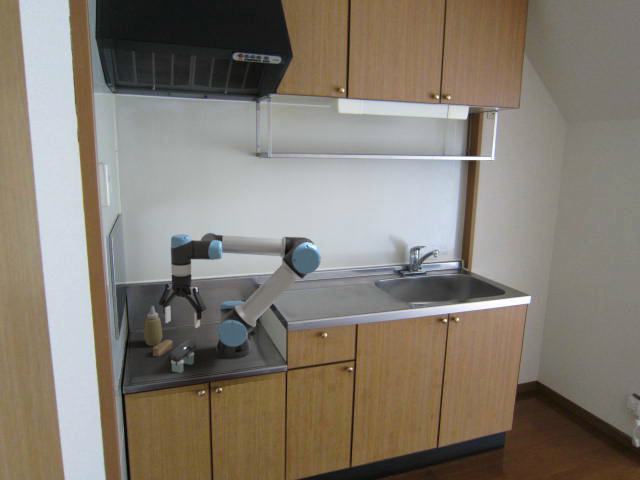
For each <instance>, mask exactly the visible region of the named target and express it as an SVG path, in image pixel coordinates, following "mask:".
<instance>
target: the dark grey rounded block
mask: <svg viewBox="0 0 640 480" xmlns="http://www.w3.org/2000/svg"><path fill="white" fill-rule="evenodd" d="M196 348H197V343H196V341H194V340H193V339H187V340H186V341H184V342H182V343H181V344H180V345H179V346H177V347H175V348H174V349H173V350H172V349H171V351H170V353H169V356H170V359H171V361H172V360H173V361H175V362H178V361H180V360H181V359H183V358H184V357H185V356H187V355H188V354H189V353H191V352H195V350H196Z"/></svg>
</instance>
